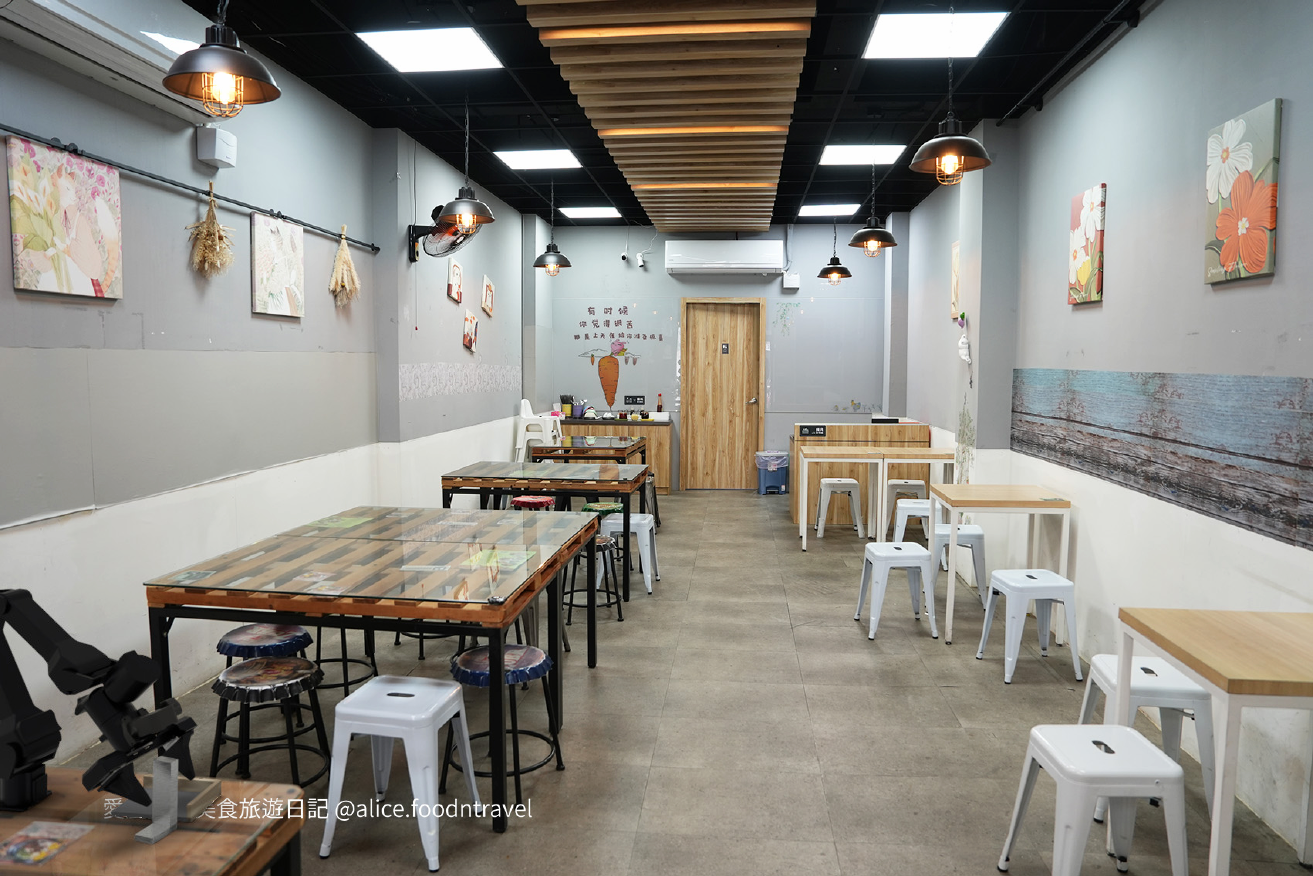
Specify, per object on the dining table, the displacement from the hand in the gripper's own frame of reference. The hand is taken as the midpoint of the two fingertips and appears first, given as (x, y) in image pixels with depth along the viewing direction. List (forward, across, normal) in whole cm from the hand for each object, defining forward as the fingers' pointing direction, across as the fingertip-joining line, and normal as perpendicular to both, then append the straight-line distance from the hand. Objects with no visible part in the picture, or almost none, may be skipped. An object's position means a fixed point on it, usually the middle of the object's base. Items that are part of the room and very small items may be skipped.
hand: (172, 791), depth 137 cm
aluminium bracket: (+4, -2, +6) cm, 7 cm away
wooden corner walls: (0, +6, +9) cm, 11 cm away
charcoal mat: (0, +6, +9) cm, 11 cm away
